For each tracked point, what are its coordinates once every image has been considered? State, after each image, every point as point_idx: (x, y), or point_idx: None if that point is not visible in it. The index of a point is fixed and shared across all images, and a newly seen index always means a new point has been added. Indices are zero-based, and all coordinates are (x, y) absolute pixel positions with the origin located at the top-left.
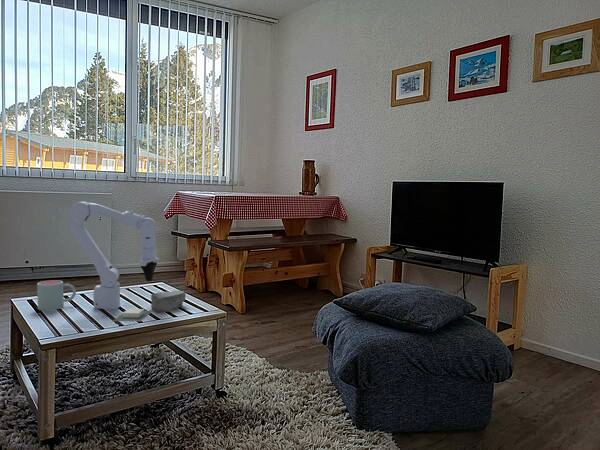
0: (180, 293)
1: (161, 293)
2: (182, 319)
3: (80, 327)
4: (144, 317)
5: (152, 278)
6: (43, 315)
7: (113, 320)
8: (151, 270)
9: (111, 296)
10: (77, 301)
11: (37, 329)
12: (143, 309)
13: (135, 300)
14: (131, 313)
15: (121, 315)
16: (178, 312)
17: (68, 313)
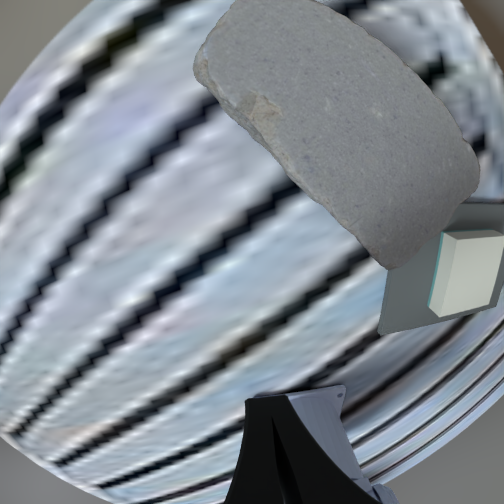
0: (331, 13)
1: (375, 192)
2: (472, 33)
3: (500, 355)
4: (487, 207)
5: (254, 412)
6: (376, 476)
7: (493, 306)
8: (365, 498)
9: (350, 445)
10: (225, 497)
11: (478, 415)
12: (462, 240)
13: (147, 384)
14: (497, 267)
15: (449, 315)
16: None
17: (367, 457)
